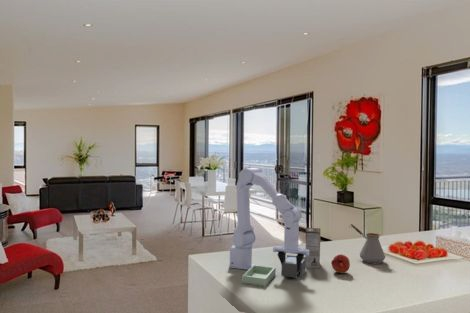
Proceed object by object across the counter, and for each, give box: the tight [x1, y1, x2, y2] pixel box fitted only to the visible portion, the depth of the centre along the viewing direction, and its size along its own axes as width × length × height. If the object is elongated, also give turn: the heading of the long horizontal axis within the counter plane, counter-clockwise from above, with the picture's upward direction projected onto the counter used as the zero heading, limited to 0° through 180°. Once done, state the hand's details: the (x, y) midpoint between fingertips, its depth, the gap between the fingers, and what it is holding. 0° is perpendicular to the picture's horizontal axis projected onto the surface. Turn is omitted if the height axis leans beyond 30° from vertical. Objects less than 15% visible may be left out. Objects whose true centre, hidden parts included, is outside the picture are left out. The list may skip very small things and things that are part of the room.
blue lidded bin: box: [280, 257, 300, 279], centre depth 170 cm, size 6×11×6 cm, turn 160°
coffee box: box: [304, 227, 321, 269], centre depth 186 cm, size 9×6×16 cm
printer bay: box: [285, 254, 307, 277], centre depth 175 cm, size 8×8×6 cm
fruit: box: [331, 254, 351, 274], centre depth 175 cm, size 8×8×8 cm
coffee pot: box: [348, 224, 386, 265], centre depth 198 cm, size 21×12×15 cm, turn 25°
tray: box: [241, 264, 277, 287], centre depth 166 cm, size 10×16×3 cm, turn 161°
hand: (290, 270), depth 167 cm, fingers closed on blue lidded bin, 5 cm apart
